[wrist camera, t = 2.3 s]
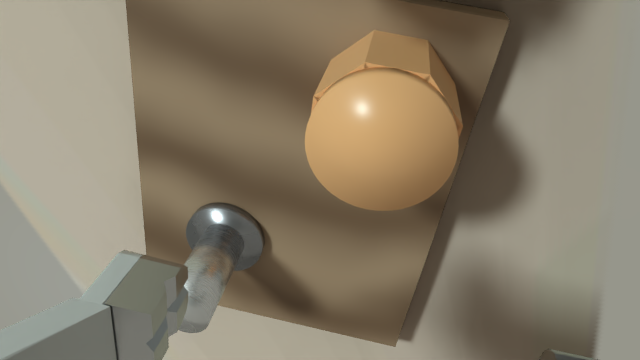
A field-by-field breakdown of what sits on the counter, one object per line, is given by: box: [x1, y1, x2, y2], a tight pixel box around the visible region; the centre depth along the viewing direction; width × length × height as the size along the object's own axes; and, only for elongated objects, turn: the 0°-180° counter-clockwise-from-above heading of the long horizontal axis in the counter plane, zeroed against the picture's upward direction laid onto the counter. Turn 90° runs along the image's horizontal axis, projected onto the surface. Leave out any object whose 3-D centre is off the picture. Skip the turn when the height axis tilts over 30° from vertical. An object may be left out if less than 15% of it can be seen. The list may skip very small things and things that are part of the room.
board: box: [126, 0, 510, 347], centre depth 25 cm, size 20×16×2 cm
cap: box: [305, 30, 463, 211], centre depth 19 cm, size 5×5×5 cm
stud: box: [178, 202, 265, 333], centre depth 25 cm, size 4×4×6 cm
